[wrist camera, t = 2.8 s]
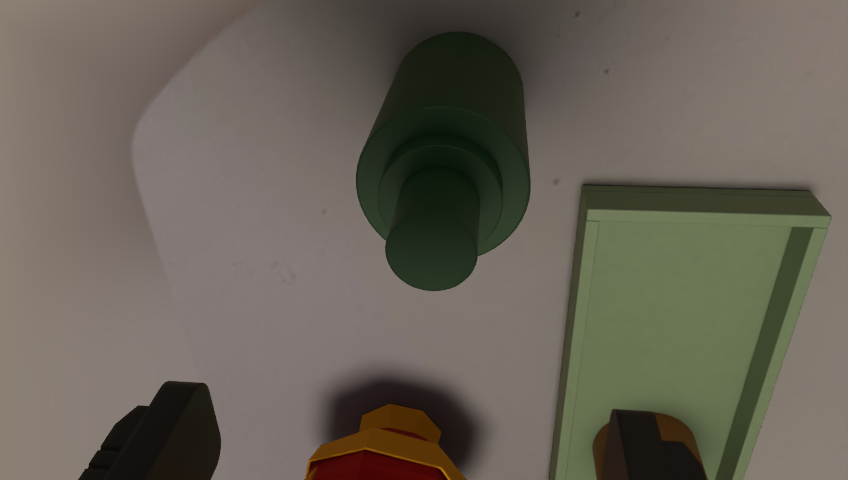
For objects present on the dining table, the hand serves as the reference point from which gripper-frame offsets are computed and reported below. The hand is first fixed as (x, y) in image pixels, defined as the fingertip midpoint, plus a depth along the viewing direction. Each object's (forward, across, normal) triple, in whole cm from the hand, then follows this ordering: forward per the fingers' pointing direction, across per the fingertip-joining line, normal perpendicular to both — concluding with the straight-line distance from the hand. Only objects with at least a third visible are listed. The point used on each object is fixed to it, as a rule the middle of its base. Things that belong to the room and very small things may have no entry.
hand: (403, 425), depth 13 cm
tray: (+20, -11, +19) cm, 29 cm away
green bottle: (+19, 0, 0) cm, 19 cm away
